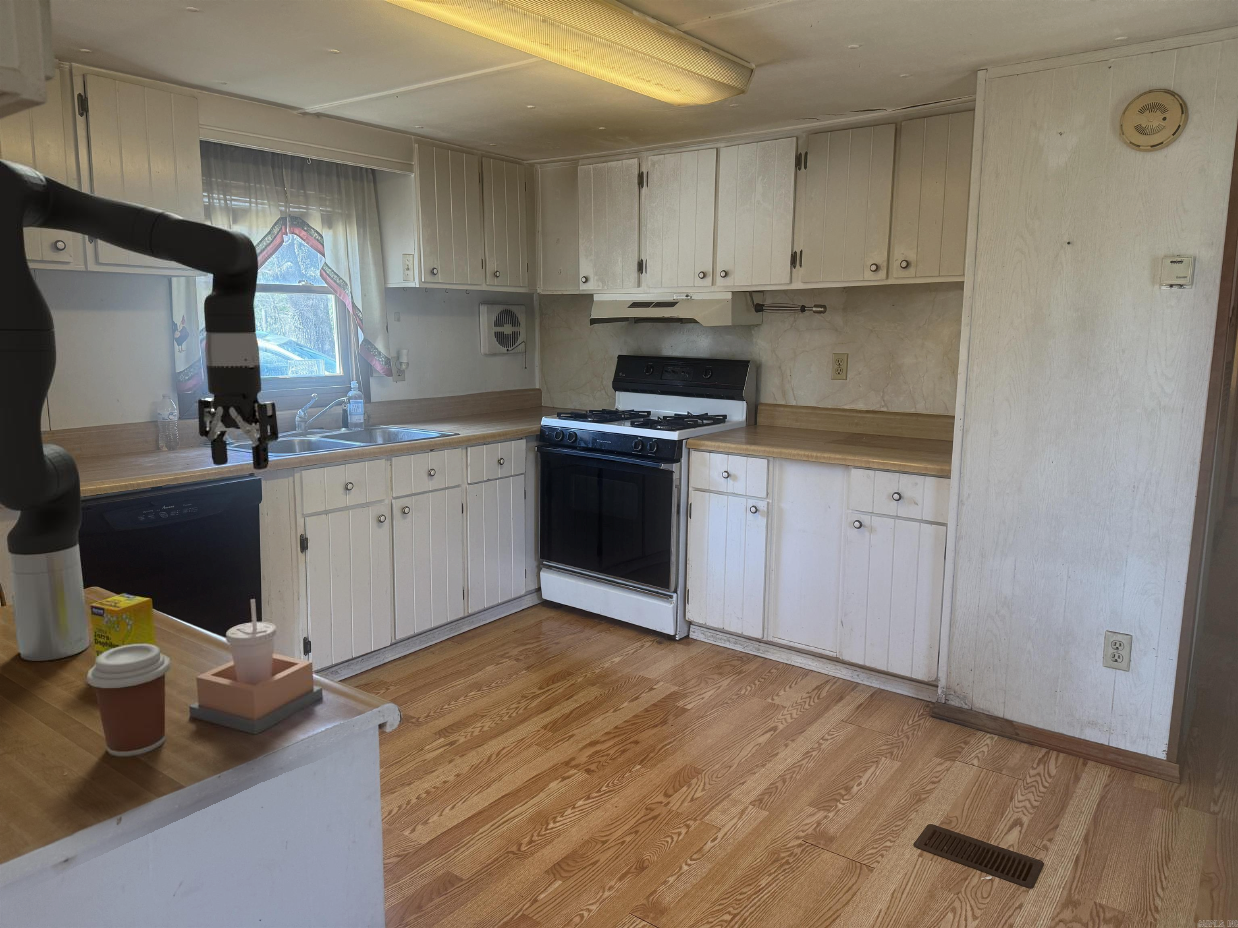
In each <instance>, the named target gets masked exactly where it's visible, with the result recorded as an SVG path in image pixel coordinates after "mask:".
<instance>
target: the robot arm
mask: <svg viewBox="0 0 1238 928" xmlns="http://www.w3.org/2000/svg"><path fill="white" fill-rule="evenodd" d="M24 228H37V229H38V228H39V229H48V230H49V229H50V230H57V231H66V232H71V233H76V234H79V235H80V234H81V235H84V236H87V237H91V238H94V239H95V240H96V239H97V240H99V241H102V242H104V243H107V244H109V245H112V246H115V247H117V248H120V249H124V250H125V251H126V250H127V251H129V252H133V253H137V254H140V255H144V256H147V257H150V258H154V259H158V260H162V261H167V262H168V261H169V262H174V263H177V264H179V265H182V266H185V267H187V268H190V269H193V270H197V271H200V272H203V273H206V274H210V275H212V284H211V293H210V294H208V295H207V296H206V297H205V299H204V302H203V314H204V316H203V317H204V326H205V344H204V350H205V351H204V353H205V355H204V356H205V368H206V380H207V390H208V393H209V394H211V395H212V396H213V397H207V398H200V399H198V401H197V410H198V434H199V436H200V437H201V438H202V437H205V438H206V439H207V440H208V441H209V442H210V451H211V452H210V453H211V459H212V463H213V465H215V466H222V465H226V464H228V462H229V460H228V459H229V457H228V446H227V445H228V444H227V440H225V439H226V437H227V436H228V434H229V432H230V431H231V430H233V429H235V430H241V431H242V433H243V434H244V435H247V437H248V439H249V440H250V442H251V444H252V446H251V452H252V466H253V467H252V468H253V469H254V470H256V471H257V470H258V471H259V470H265V469H267V468H268V465H269V461H270V459H269V444H270V443H272V442H275V441H278V440H279V437H280V436H279V428H278V418H277V409H276V403H275V402H274V401H264V402H260V401H259V399H258V395H259V393H261V391H262V378H261V364H260V363H261V361H260V348H259V343H258V338H257V329H256V328H257V327H256V315H255V297H256V292H257V283H258V275H259V258H258V252H257V249H256V246H255V244H254V242H253V241H252V239H251V238H250V237H249V236H247V235H246V234H245V233H243V232H242V231H239V230H236V229H235V230H234V229H231V228H226V227H223V226H222V227H221V226H218V225H213V224H209V223H205V222H201V221H195V220H191V219H187V218H184V217H182V216H180V215H177V214H175V213H172V212H168V211H164V210H162V209H158V208H154V207H151V206H146V205H142V204H138V203H134V202H131V201H130V202H129V201H125V200H120V199H115V198H110V197H105V196H104V197H103V196H100V195H96V194H93V193H89V192H86V191H83V190H81V189H78V188H75V187H72V186H70V185H67V184H66V183H63V182H60V181H58V180H56V179H54V178H52V177H50V176H47V175H45V174H44V173H41V172H39V171H37V170H35V169H33V168H31V167H30V166H27V165H25V164H22V163H17V162H14V161H10V160H7V159H3V158H0V505H1V506H3V507H4V508H6V509H8V510H11V511H15V512H16V511H17V512H20V513H19V515H18V516H19V517H18V519H17V521H16V523H15V524H14V526H13V527H12V528H11V529H10V530H9V532H8V533H7V535H6V543H7V551H8V558H9V559H8V560H9V567H10V573H11V584H12V590H13V591H12V592H13V595H12V596H11V603H12V609H13V610H12V611H13V618H14V626H15V634H16V635H15V636H16V643H17V652H18V653H20V656H21V658H22V659H23V660H25V661H32V662H42V661H52V660H57V659H58V660H59V659H62V658H66V657H70V656H73V655H76V654H78V653H80V652H82V651H84V650H86V649H87V648H88V647H89V645H90V640H89V639H90V638H89V630H88V621H87V612H86V611H87V610H86V608H87V607H86V601H85V593H84V592H85V591H84V581H83V573H82V565H81V564H82V563H81V556H80V555H81V553H80V545H79V530H80V529H81V524H82V519H83V518H82V516H83V513H82V512H83V511H82V496H81V495H82V493H81V480H80V473H79V468H78V466H77V463H76V461H75V459H74V457H73V456H72V455H71V454H70V453H69V452H68V451H67V450H66V449H64V448H63V447H61V446H59V445H56V444H53V443H43V437H42V415H43V408H44V406H45V405H44V404H45V401H46V399H47V397H48V396H47V395H48V392H49V389H50V386H51V384H52V382H53V378H54V375H55V371H56V365H57V345H56V343H57V342H56V331H55V324H54V318H53V314H52V311H51V309H50V307H49V304H48V303H47V300H46V298H45V296H44V294H43V292H42V290H41V288H40V286H39V284H38V283H37V281H36V279H35V277H34V276H33V275H34V274H33V273H32V271H31V268H30V265H29V263H28V262H29V261H28V258H27V254H26V253H27V252H26V247H25V235H24V234H25V233H24ZM207 424H208V425H209V426H207ZM268 427H269V428H268Z"/></svg>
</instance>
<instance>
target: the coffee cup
mask: <svg viewBox="0 0 1238 928" xmlns="http://www.w3.org/2000/svg"><path fill="white" fill-rule="evenodd" d="M94 661H95V662H94V665H93V667H91V668H90V669H89V670H88V672H87V674H86V675H87V676H86V682H87V683H88V684H89V685H90V686H91V687H94V691H95V692H94V693H95V696H96V700H97V701H96V702H97V704H98V705H97V706H98V710H99V714H100V719H101V724H102V729H103V734H104V739H105V743H106V750H107V753H109V755H110V756H115V757H132V756H138V755H139V756H140V755H143V754H145V753H148V752H151V751H153V750H155V749H157V748H158V747H160V746H161V745H163V743H164V742H166V673H167V672H169V670H171V659H170V658H169V656H167V655H166V654H163V653H161V648H159V646H157V645H156V646H155V645H151V644H132V645H125V646H121V647H117V648H113V649H111V650H108V651H106V652H103V653H102V654H101V655H99V656H98V657H97V658H96V659H95V660H94Z"/></svg>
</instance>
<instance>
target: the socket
mask: <svg viewBox="0 0 1238 928" xmlns="http://www.w3.org/2000/svg"><path fill="white" fill-rule="evenodd" d="M313 669H314V668H313V662H312V661H309V660H305V659H301V658H298V657H297V658H296V657H291V656H288V655H287V656H286V655H282V654H278V653H274V652H273V662H272V677H271V678H269V679H267V680H265V681H263V682H261V683H259V684H257V685H255V686H252V685H248V684H244V683H240V682H238V680H237V676H236V671H235V667H234V662H233V660H231V661H229V662H227V663H224V664H222V665H220V666H218V667H216V668H213V669H211V670H208V671H207V672H205V673H204V672H203V673H202V674H199V675H197V676H196V677H195V679H196V681H195V682H196V690H197V691H196V692H197V702H195V703H193V704H190V705H188V709H189V716H190V717H192V718H195V719H197V720H198V719H199V720H201V719H202V721H206V722H209V723H212V724H216V725H221V726H224V727H227V728H231V729H235V730H239V731H241V730H242V732H245V733H249V734H252V735H258V734H260V733H261V732H263V731H265V730H266V729H269V728H271V727H272V726H274V725H275V724H278V723H279V722H281V721H283V720H285V719H287V718H288V717H290V716H292V715H294V714H296V713H298V712H299V711H301V710H302V709H304V708H306V707H308V706H310V705H312V704H313V703H315V702H317V701H319V700H320V699H323V695H324V694H323V687H321V686H317V685H315V684H314V671H313Z"/></svg>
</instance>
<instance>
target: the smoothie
mask: <svg viewBox="0 0 1238 928" xmlns="http://www.w3.org/2000/svg"><path fill="white" fill-rule="evenodd" d="M250 610H251V613H250V614H251V622H246V623H242V624H238V625H235V626H233V627H231V628H229V629H228V630H227V631H226V633H225V637H226V638H225V641H226V642H227V643H229V649H230V653H231V657H232V661H233V662H234V667H235V671H236V676H237V680H238V682H240V683H244V684H248V685H252V686H255V685H257V684H259V683H261V682H263V681H265V680H267V679H269V678H271V677H272V662H273V653H274V647H275V637H276V636H277V634H278V632H277V626H276V625H275V624H274V623H272V622H267V621H258V620H257V609H256V599H255V598H252V599H250Z"/></svg>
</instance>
